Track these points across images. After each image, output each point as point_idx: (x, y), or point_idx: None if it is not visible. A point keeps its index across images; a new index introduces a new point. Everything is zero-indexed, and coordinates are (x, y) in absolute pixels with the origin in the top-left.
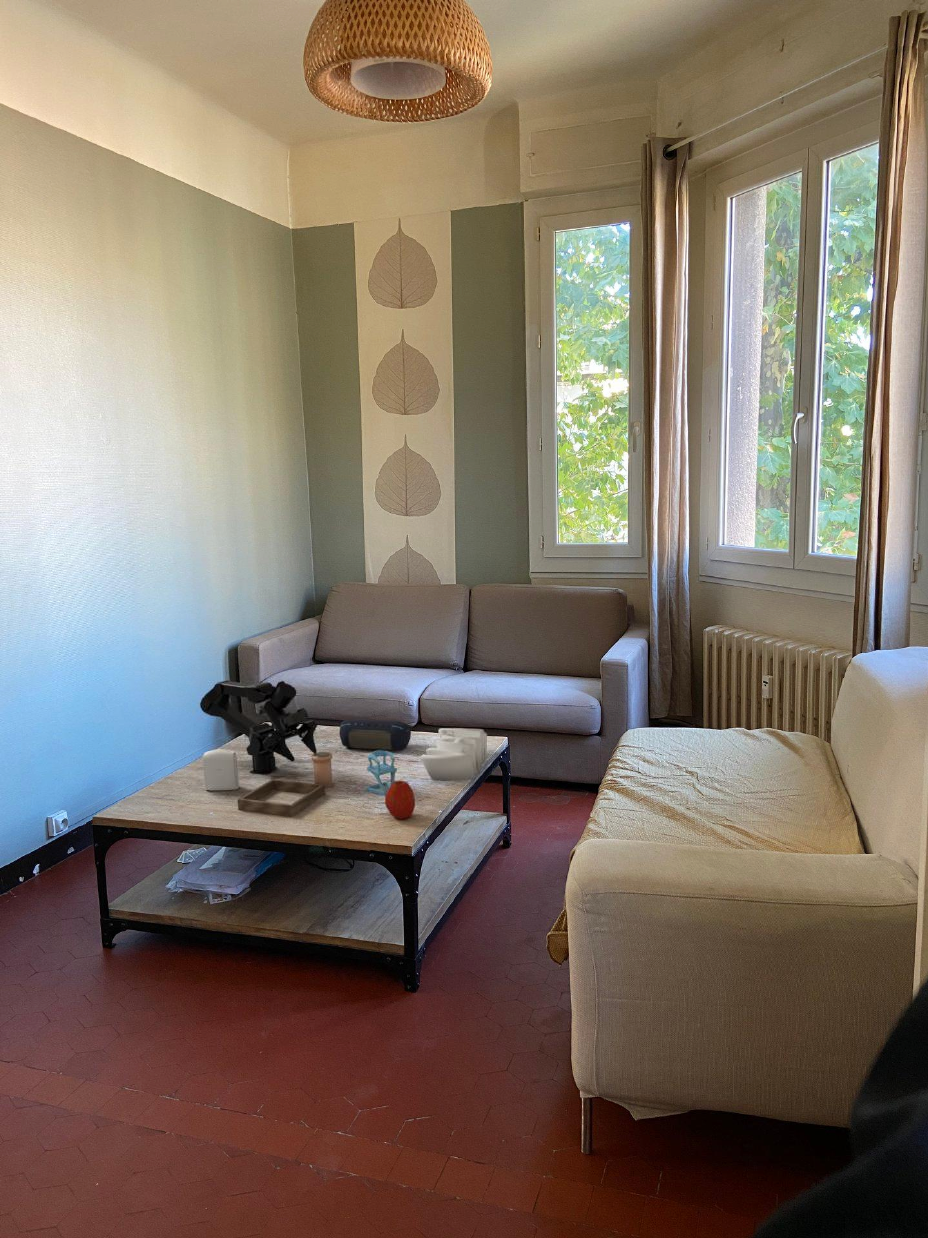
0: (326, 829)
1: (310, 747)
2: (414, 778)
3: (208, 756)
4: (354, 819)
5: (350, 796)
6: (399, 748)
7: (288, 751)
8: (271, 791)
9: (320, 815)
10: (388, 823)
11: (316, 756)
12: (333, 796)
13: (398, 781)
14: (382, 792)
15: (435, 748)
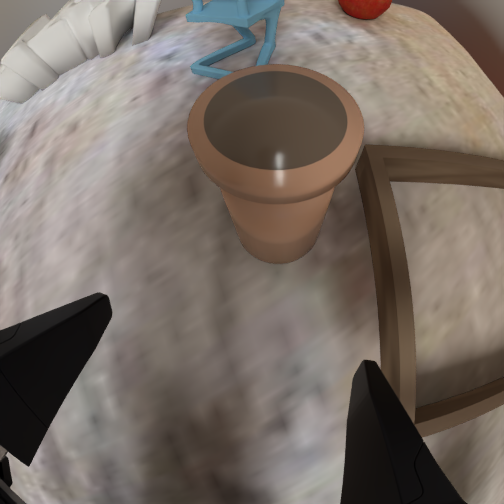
0: (487, 94)
1: (73, 356)
2: (140, 59)
3: None
4: (426, 61)
5: None
6: None
7: (409, 433)
8: (416, 408)
9: (466, 121)
10: (395, 24)
11: (332, 124)
12: None
13: None
14: (273, 44)
15: (96, 7)
